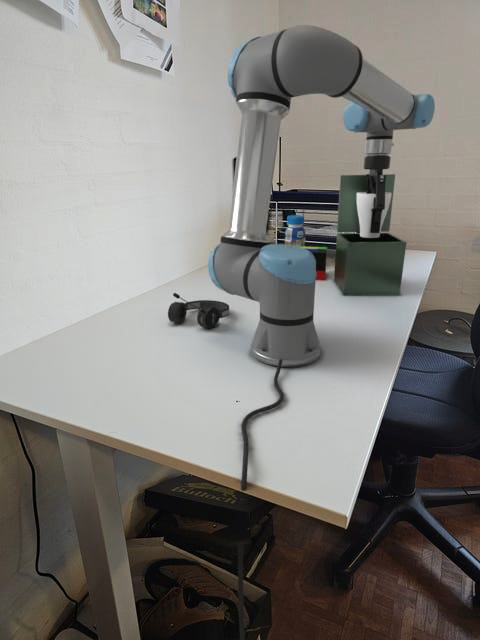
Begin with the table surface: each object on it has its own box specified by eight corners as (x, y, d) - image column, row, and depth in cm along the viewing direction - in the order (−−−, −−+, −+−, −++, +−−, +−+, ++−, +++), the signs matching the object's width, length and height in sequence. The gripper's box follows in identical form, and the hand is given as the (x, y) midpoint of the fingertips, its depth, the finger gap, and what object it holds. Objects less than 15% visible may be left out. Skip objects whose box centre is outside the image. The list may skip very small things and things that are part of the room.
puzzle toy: (296, 278, 147) (297, 251, 143) (299, 272, 156) (300, 246, 152) (324, 280, 145) (326, 252, 141) (325, 273, 154) (327, 247, 150)
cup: (389, 239, 124) (395, 193, 119) (354, 239, 125) (358, 194, 120) (383, 234, 133) (388, 191, 128) (351, 233, 135) (354, 191, 130)
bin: (399, 295, 127) (406, 242, 121) (343, 295, 128) (347, 242, 122) (383, 280, 143) (388, 232, 137) (333, 280, 144) (337, 233, 138)
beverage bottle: (283, 263, 170) (284, 214, 163) (303, 262, 170) (305, 214, 163) (284, 267, 162) (285, 217, 155) (305, 267, 162) (307, 217, 155)
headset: (155, 290, 101) (197, 279, 118) (156, 327, 103) (196, 311, 121) (201, 297, 95) (238, 284, 113) (201, 335, 98) (237, 317, 115)
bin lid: (395, 174, 131) (387, 174, 138) (340, 175, 131) (336, 175, 139) (389, 231, 137) (382, 228, 144) (337, 232, 137) (333, 229, 145)
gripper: (403, 154, 110) (393, 235, 118) (379, 155, 131) (372, 225, 139) (375, 154, 110) (367, 236, 118) (356, 156, 131) (350, 225, 139)
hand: (370, 230), depth 129 cm, fingers closed on cup, 10 cm apart
